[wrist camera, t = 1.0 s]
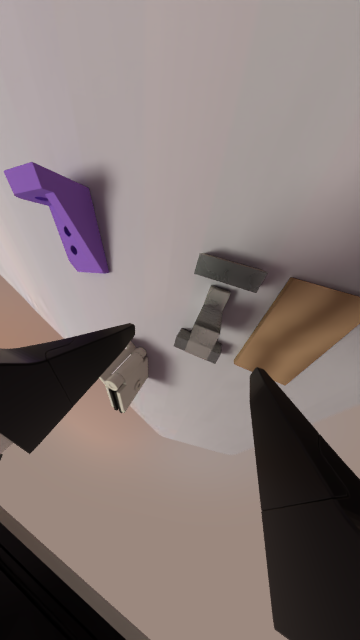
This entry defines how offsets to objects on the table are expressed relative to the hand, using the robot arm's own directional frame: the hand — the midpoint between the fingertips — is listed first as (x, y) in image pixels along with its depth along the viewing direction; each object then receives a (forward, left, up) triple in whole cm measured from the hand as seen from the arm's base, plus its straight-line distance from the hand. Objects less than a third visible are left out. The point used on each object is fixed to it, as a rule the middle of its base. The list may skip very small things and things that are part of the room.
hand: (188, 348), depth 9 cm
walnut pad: (-13, +2, -13) cm, 19 cm away
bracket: (+24, -3, -14) cm, 28 cm away
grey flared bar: (-1, +2, -13) cm, 14 cm away
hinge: (+12, +22, -14) cm, 29 cm away
